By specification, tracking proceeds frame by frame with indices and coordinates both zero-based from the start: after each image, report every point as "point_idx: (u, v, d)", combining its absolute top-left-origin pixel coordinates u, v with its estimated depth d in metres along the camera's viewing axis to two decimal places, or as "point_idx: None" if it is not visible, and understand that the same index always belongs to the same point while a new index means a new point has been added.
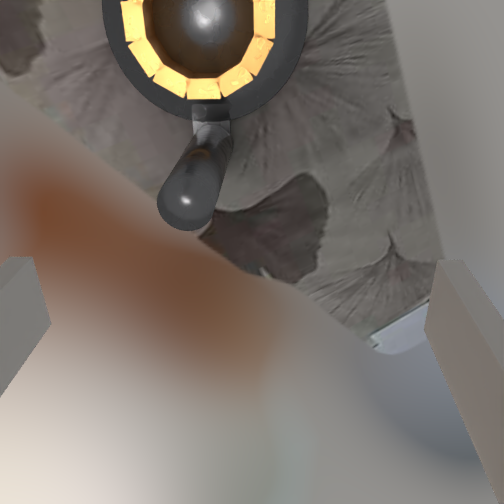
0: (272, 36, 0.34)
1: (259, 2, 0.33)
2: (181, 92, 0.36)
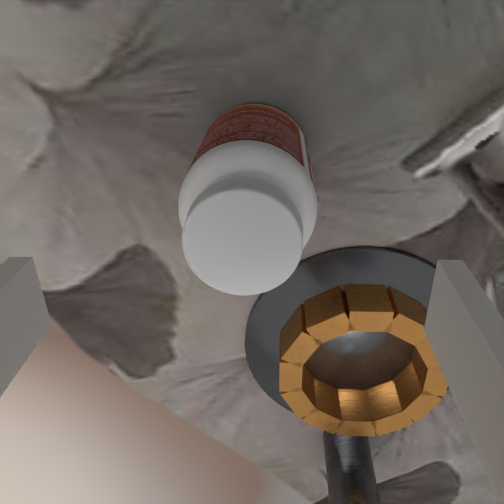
0: (442, 394, 0.31)
1: (434, 369, 0.30)
2: (332, 430, 0.33)
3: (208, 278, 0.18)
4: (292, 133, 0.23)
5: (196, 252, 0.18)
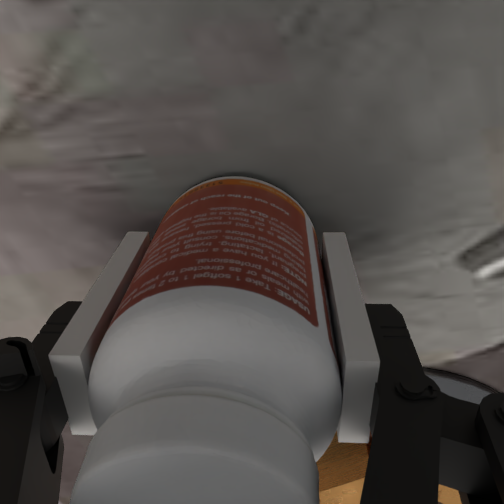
0: None
1: None
2: None
3: None
4: (295, 238, 0.14)
5: None
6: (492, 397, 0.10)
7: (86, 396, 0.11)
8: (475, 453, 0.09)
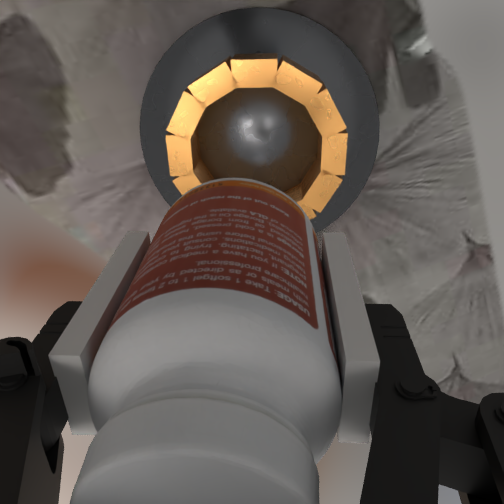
0: (342, 173, 0.29)
1: (329, 138, 0.28)
2: None
3: None
4: (295, 239, 0.14)
5: None
6: (493, 397, 0.10)
7: (86, 396, 0.11)
8: (475, 453, 0.09)
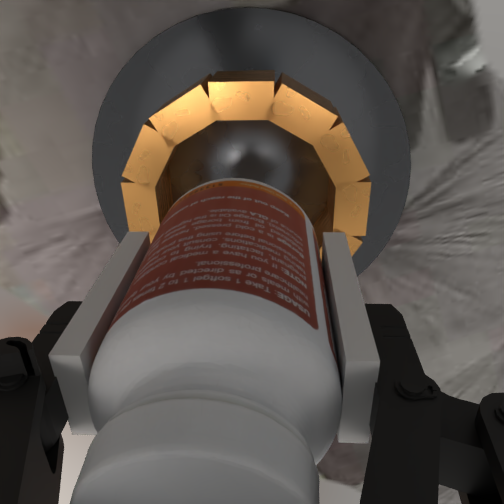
0: (361, 233, 0.21)
1: (345, 188, 0.20)
2: None
3: None
4: (295, 240, 0.14)
5: None
6: (492, 397, 0.10)
7: (86, 396, 0.11)
8: (475, 453, 0.09)
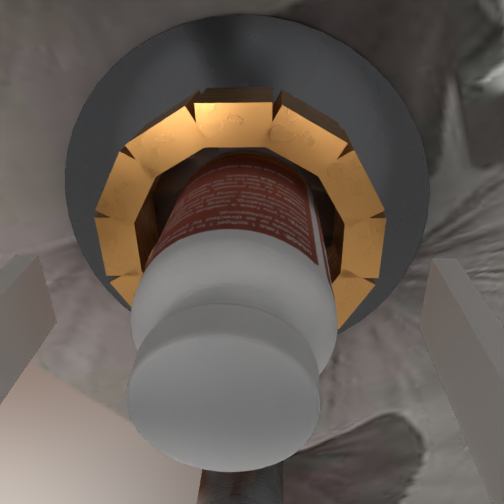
0: (374, 275, 0.18)
1: (355, 225, 0.17)
2: None
3: (171, 450, 0.12)
4: (298, 200, 0.16)
5: (150, 418, 0.11)
6: None
7: None
8: None
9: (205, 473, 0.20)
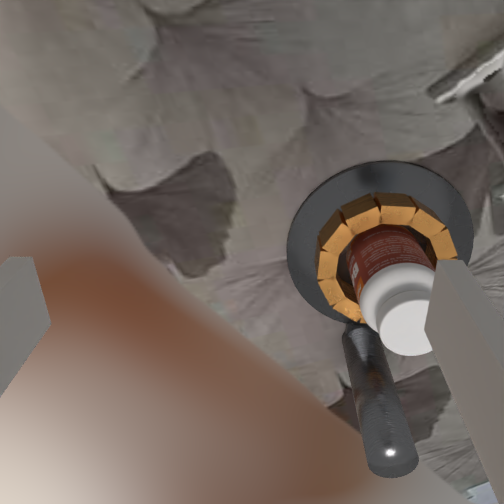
0: None
1: None
2: (356, 317, 0.40)
3: (390, 345, 0.32)
4: (421, 249, 0.36)
5: (387, 331, 0.31)
6: None
7: None
8: None
9: (358, 380, 0.39)
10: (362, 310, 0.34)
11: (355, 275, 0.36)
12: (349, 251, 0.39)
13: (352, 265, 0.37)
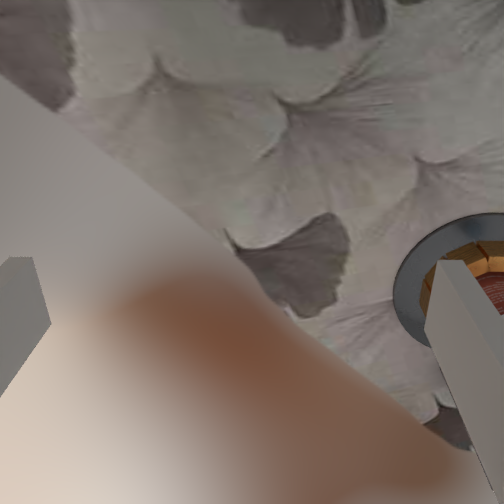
0: None
1: None
2: None
3: None
4: None
5: None
6: None
7: None
8: None
9: None
10: None
11: None
12: None
13: None
